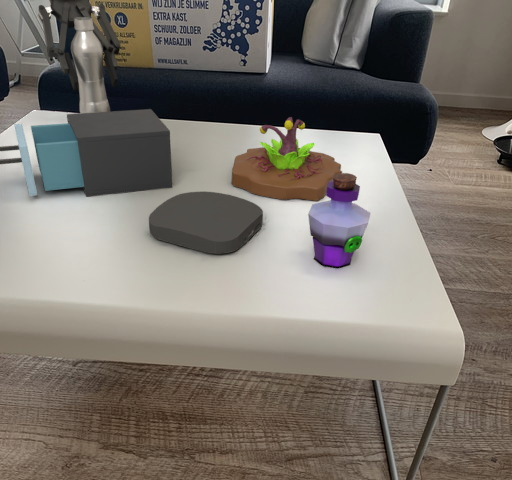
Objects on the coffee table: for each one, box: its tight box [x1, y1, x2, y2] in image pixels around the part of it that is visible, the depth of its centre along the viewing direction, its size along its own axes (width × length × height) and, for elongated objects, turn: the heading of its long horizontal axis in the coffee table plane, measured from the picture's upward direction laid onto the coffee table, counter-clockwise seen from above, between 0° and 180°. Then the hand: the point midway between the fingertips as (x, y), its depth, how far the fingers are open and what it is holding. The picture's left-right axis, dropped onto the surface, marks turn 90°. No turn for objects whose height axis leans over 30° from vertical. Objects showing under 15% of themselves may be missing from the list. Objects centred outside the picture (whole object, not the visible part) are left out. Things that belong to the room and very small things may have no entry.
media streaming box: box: [148, 190, 264, 255], centre depth 82 cm, size 15×15×3 cm
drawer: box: [0, 122, 84, 197], centre depth 90 cm, size 18×11×8 cm, turn 112°
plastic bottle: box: [70, 17, 111, 114], centre depth 114 cm, size 6×7×20 cm
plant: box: [231, 116, 343, 202], centre depth 96 cm, size 20×20×11 cm
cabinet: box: [66, 108, 174, 197], centre depth 93 cm, size 15×13×10 cm
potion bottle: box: [307, 172, 371, 270], centre depth 73 cm, size 9×9×12 cm
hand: (96, 84), depth 113 cm, fingers open, 8 cm apart
